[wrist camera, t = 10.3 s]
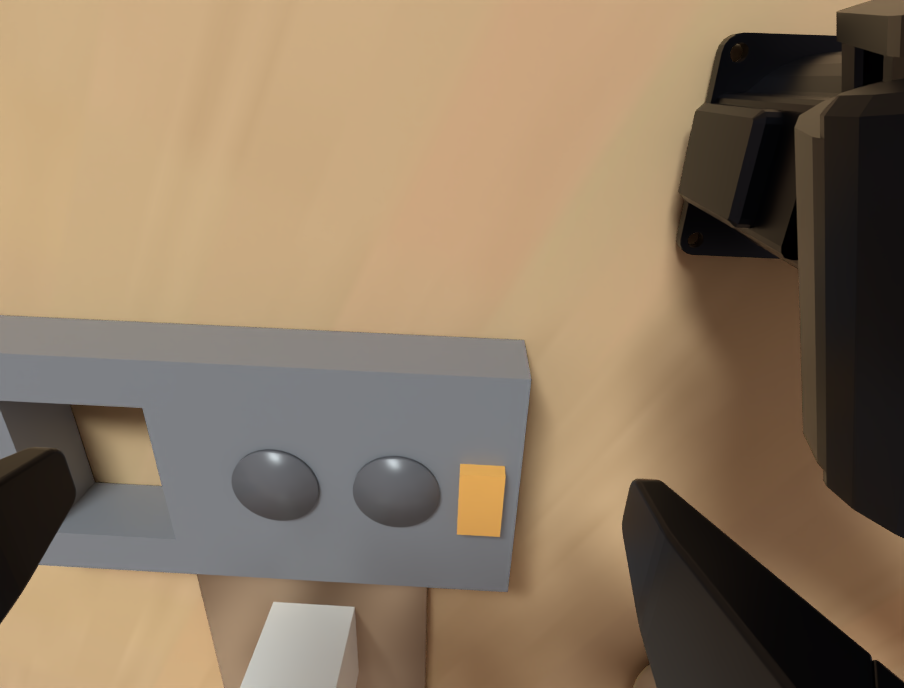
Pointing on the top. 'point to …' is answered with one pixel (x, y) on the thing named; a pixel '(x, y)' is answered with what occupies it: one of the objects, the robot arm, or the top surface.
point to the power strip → (281, 449)
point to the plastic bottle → (645, 679)
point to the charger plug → (305, 648)
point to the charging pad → (376, 606)
